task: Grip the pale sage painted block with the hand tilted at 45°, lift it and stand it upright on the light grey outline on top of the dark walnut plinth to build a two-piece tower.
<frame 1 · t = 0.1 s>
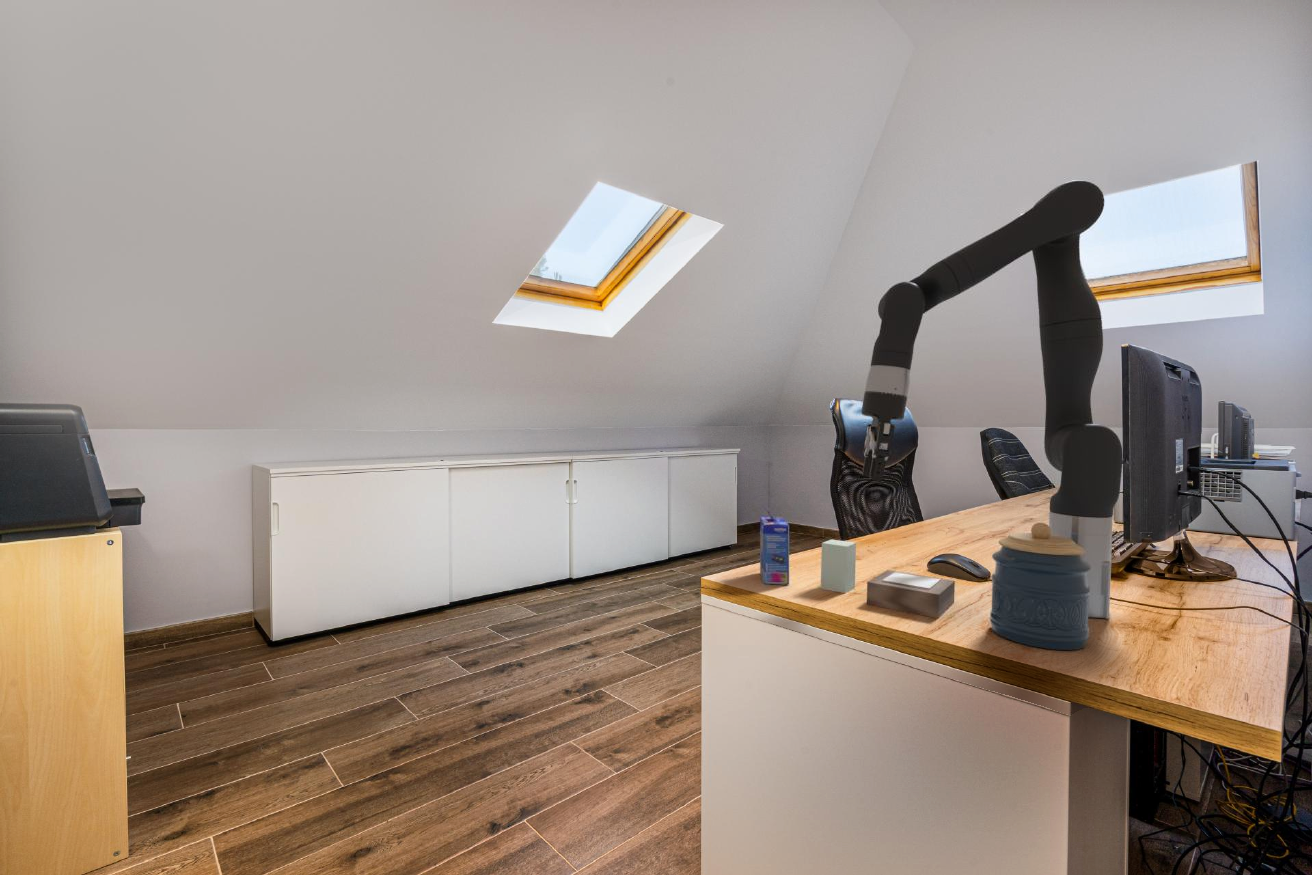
hand: (871, 478, 113), 22 cm above the table, tool pointing down, fingers open, 8 cm apart
canister: (1037, 637, 93), on the table
walnut plinth: (910, 603, 109), on the table
sage block: (837, 588, 119), on the table
ink cartridge box: (773, 579, 125), on the table
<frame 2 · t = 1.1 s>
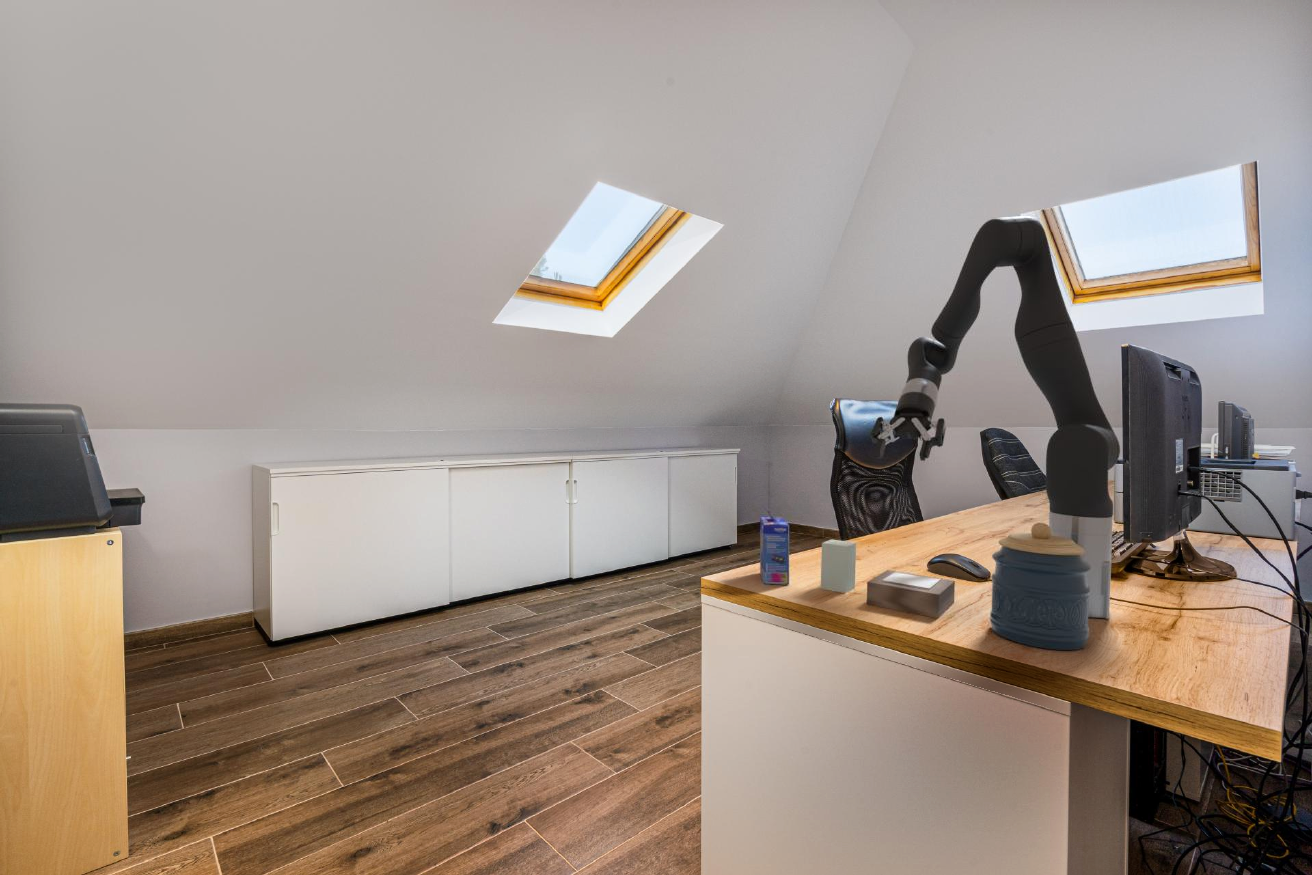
hand: (900, 456, 124), 26 cm above the table, tool tilted 45°, fingers open, 8 cm apart
nothing on the table moved.
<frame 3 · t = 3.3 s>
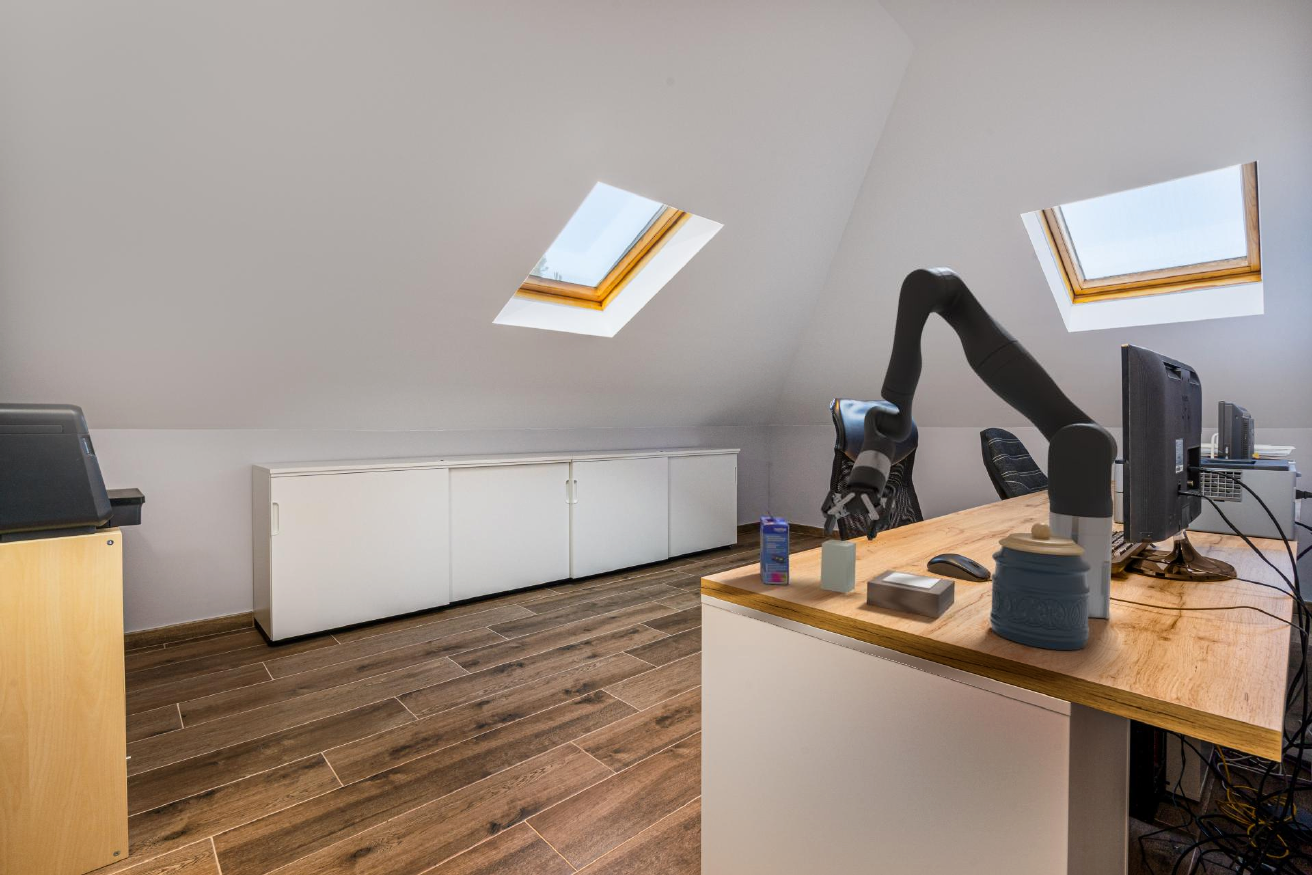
hand: (848, 535, 123), 10 cm above the table, tool tilted 45°, fingers open, 8 cm apart
nothing on the table moved.
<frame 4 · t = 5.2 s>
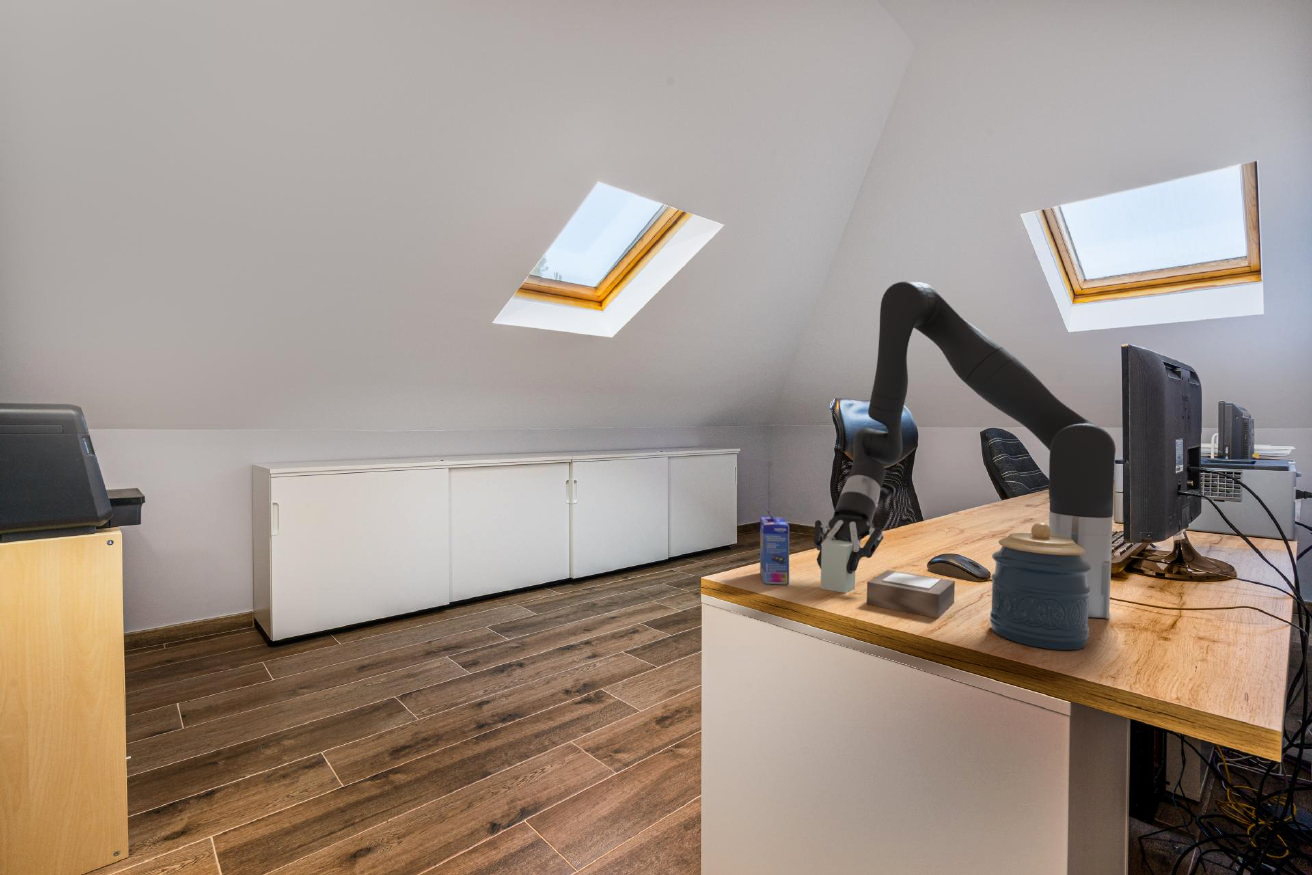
hand: (834, 568, 117), 4 cm above the table, tool tilted 45°, fingers closed on sage block, 5 cm apart
sage block: (837, 588, 119), on the table, touching gripper
everything else where it was.
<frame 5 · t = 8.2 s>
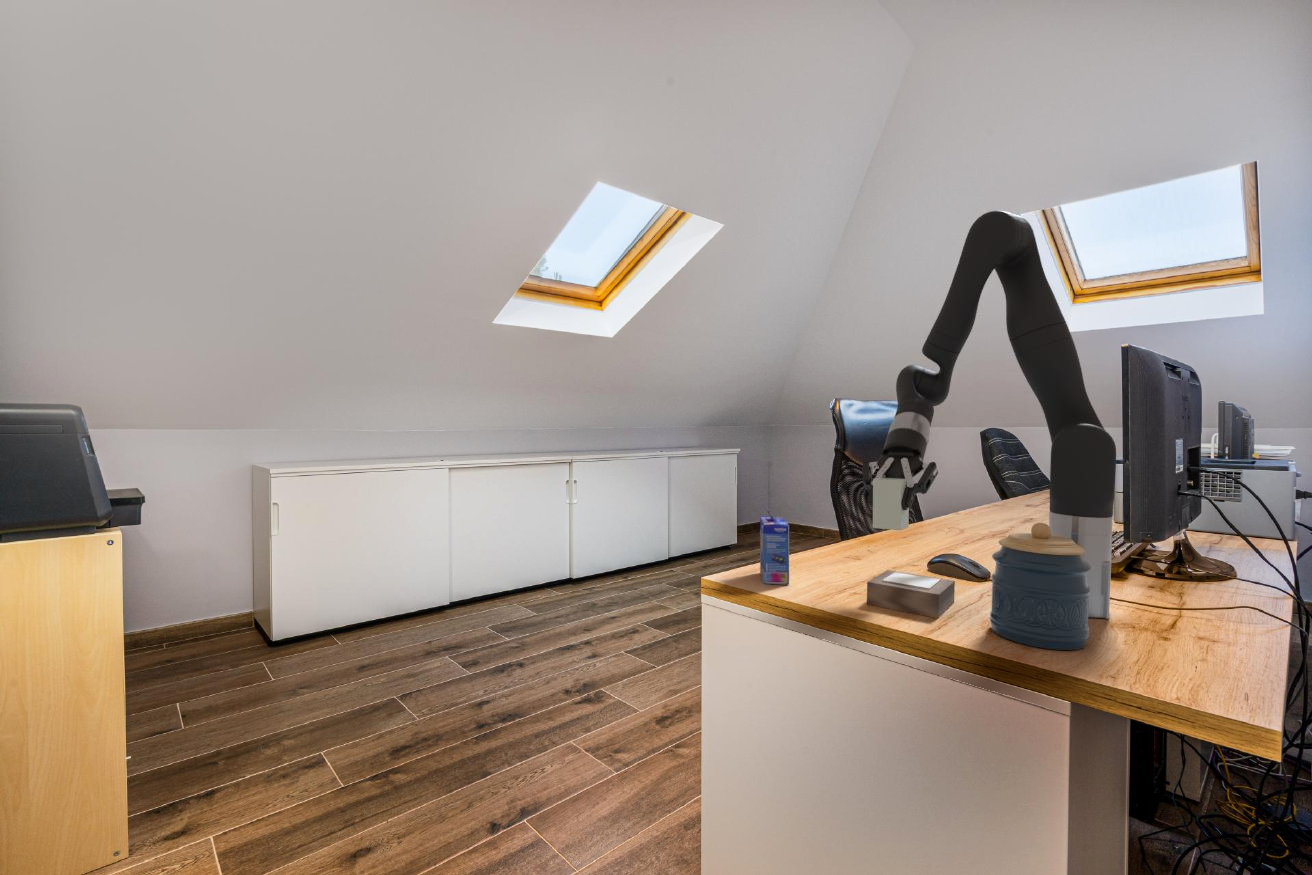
hand: (888, 505, 110), 17 cm above the table, tool tilted 45°, fingers closed on sage block, 5 cm apart
sage block: (890, 527, 112), point 13 cm above the table, touching gripper
everything else where it was.
when the fingers open (10 cm above the table, at t = 11.0 s): sage block drops 1 cm, resting on walnut plinth.
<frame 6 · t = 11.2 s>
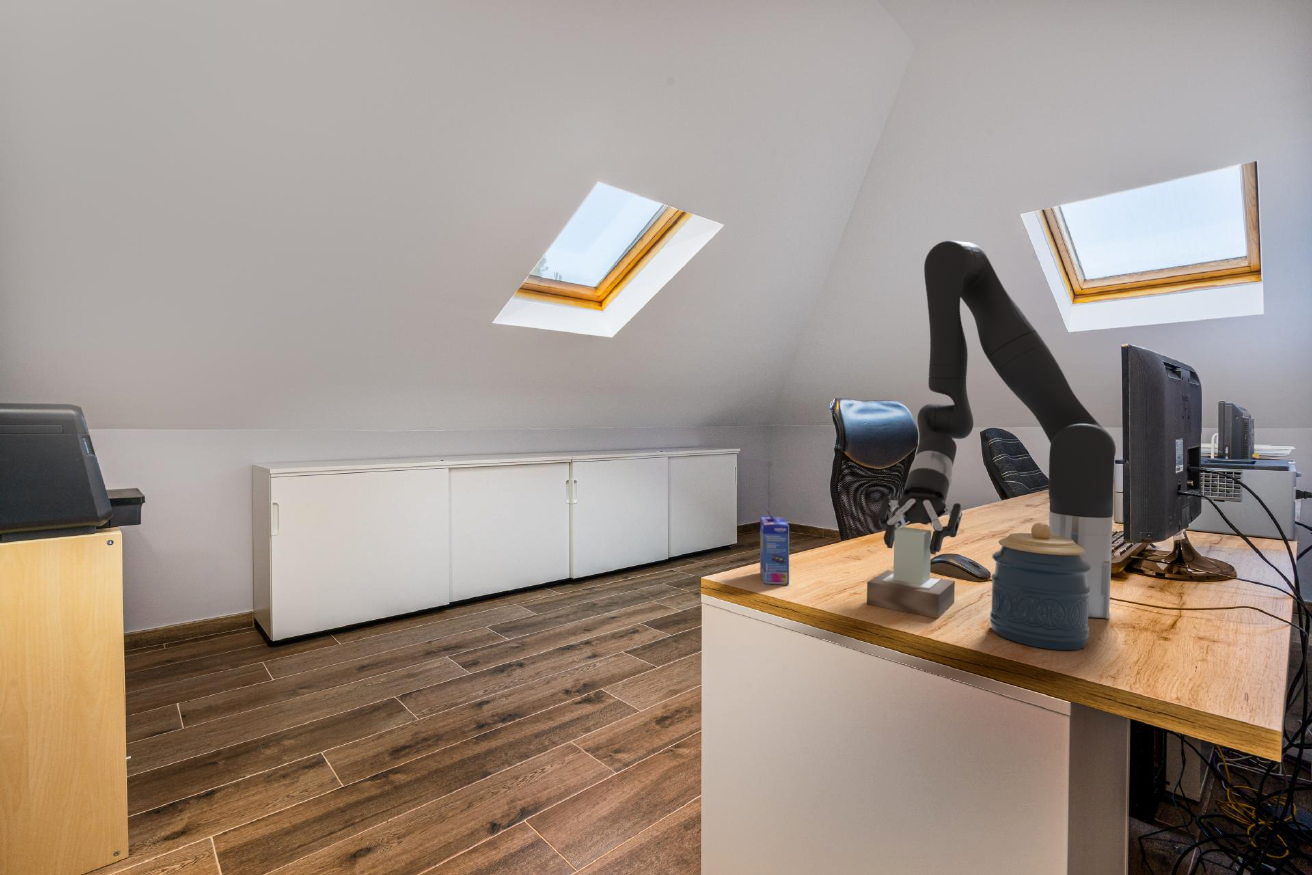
hand: (910, 548, 108), 10 cm above the table, tool tilted 45°, fingers open, 7 cm apart
sage block: (911, 579, 109), point 4 cm above the table, touching walnut plinth
everything else where it was.
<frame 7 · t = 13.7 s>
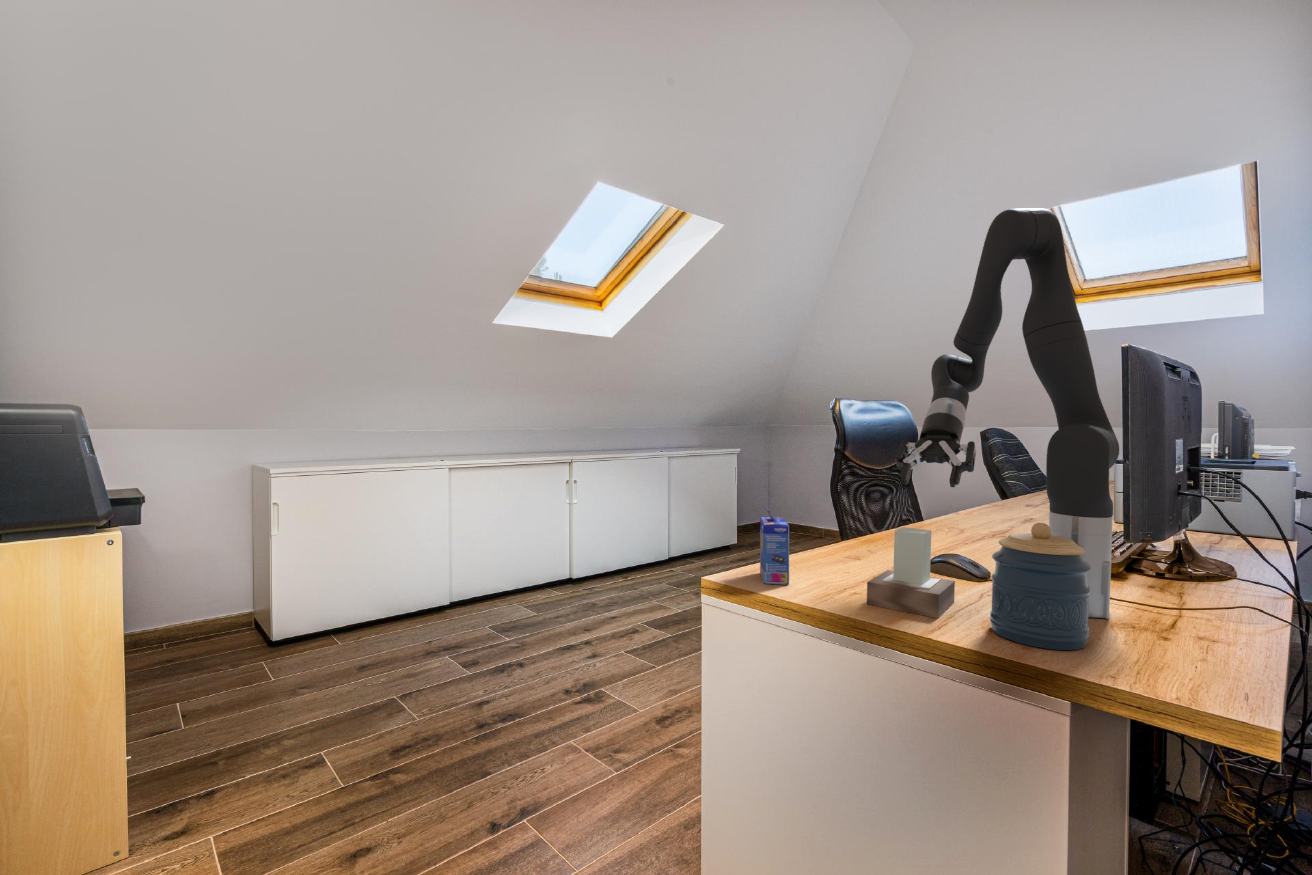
hand: (928, 482, 117), 21 cm above the table, tool tilted 45°, fingers open, 8 cm apart
nothing on the table moved.
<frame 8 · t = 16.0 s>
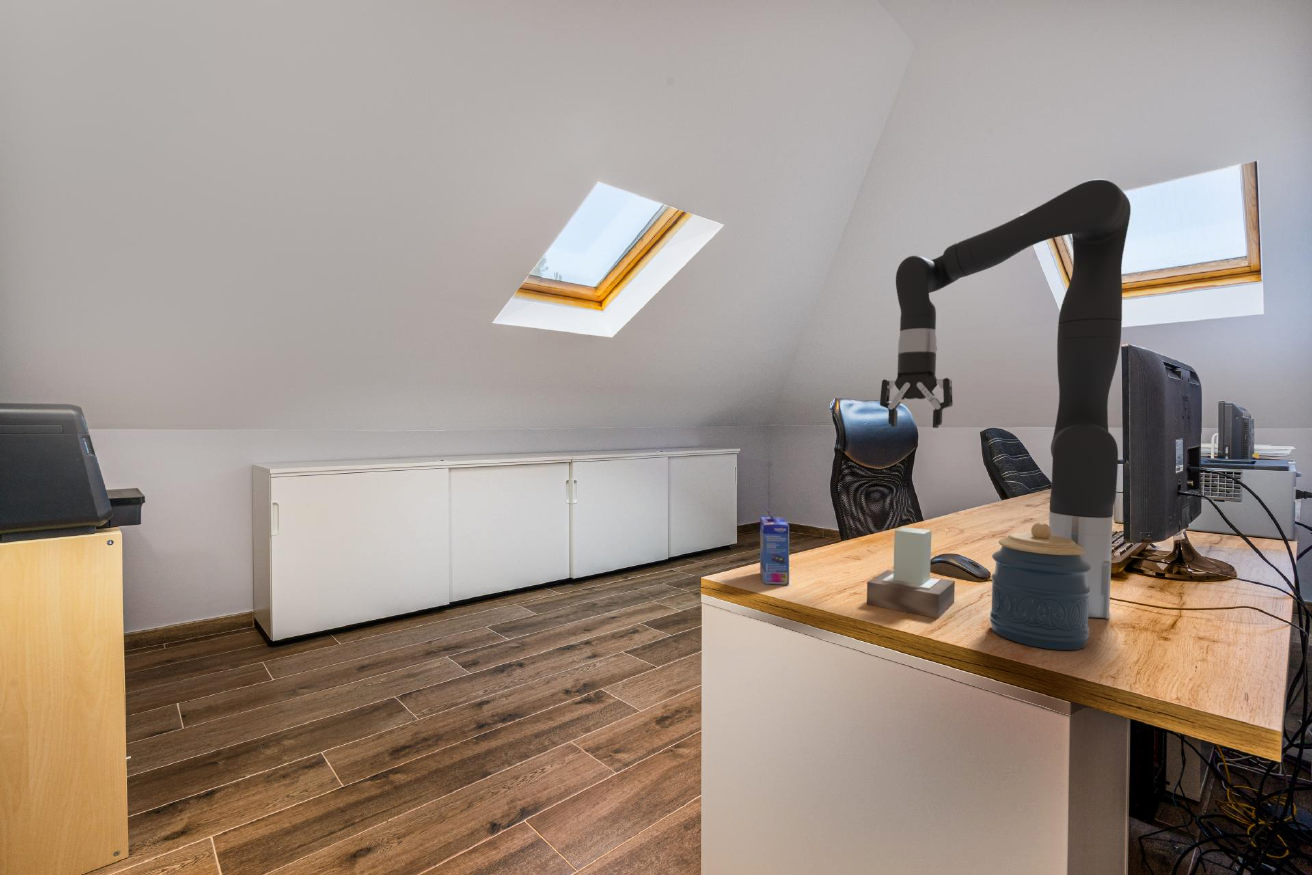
hand: (914, 427, 130), 32 cm above the table, tool pointing down, fingers open, 8 cm apart
nothing on the table moved.
at the end: sage block inside the target area on the walnut plinth (0.0 cm from its centre), point 4.3 cm above the walnut plinth's base; sage block tilted 0°; the gripper is holding nothing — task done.
